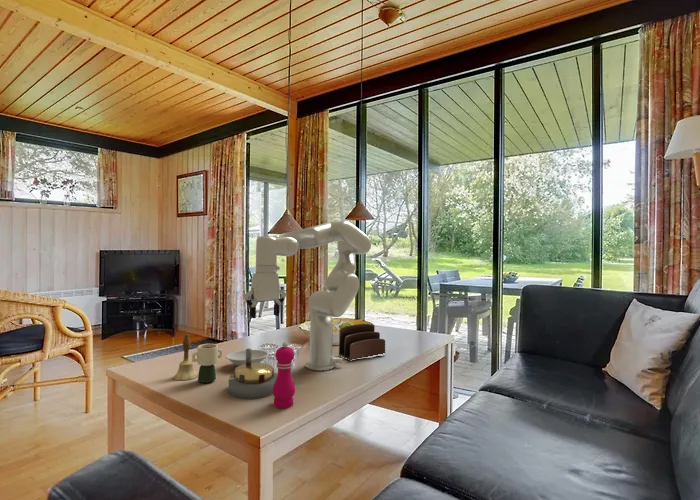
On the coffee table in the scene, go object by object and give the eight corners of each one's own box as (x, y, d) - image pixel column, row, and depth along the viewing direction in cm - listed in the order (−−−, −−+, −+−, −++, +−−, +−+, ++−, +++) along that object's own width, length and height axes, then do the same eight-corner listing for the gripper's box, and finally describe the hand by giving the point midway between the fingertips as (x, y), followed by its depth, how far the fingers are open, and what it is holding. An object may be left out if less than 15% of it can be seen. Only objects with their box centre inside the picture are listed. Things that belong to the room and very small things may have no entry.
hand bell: (173, 374, 149) (174, 332, 149) (197, 372, 153) (198, 331, 152) (173, 381, 142) (174, 338, 142) (197, 379, 145) (198, 336, 145)
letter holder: (338, 356, 180) (339, 325, 180) (372, 350, 191) (373, 322, 191) (349, 362, 172) (350, 330, 172) (385, 356, 183) (386, 326, 183)
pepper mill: (267, 406, 123) (269, 343, 123) (279, 398, 130) (281, 338, 129) (287, 410, 120) (289, 346, 120) (298, 402, 127) (300, 340, 127)
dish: (230, 375, 151) (230, 362, 151) (221, 364, 163) (221, 352, 163) (274, 368, 160) (274, 356, 160) (262, 359, 172) (262, 347, 172)
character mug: (218, 375, 149) (219, 341, 149) (225, 381, 144) (225, 346, 144) (188, 381, 143) (189, 345, 142) (194, 387, 137) (195, 350, 137)
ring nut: (279, 379, 135) (280, 355, 135) (243, 386, 128) (243, 360, 128) (263, 368, 146) (264, 346, 146) (229, 374, 138) (230, 351, 138)
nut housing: (280, 380, 146) (280, 369, 146) (276, 398, 130) (276, 385, 129) (233, 380, 145) (234, 369, 145) (223, 398, 128) (223, 386, 128)
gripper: (283, 268, 153) (281, 313, 153) (239, 269, 142) (238, 316, 143) (291, 270, 146) (290, 316, 147) (247, 271, 136) (245, 320, 137)
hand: (264, 316), depth 145 cm, fingers open, 8 cm apart
